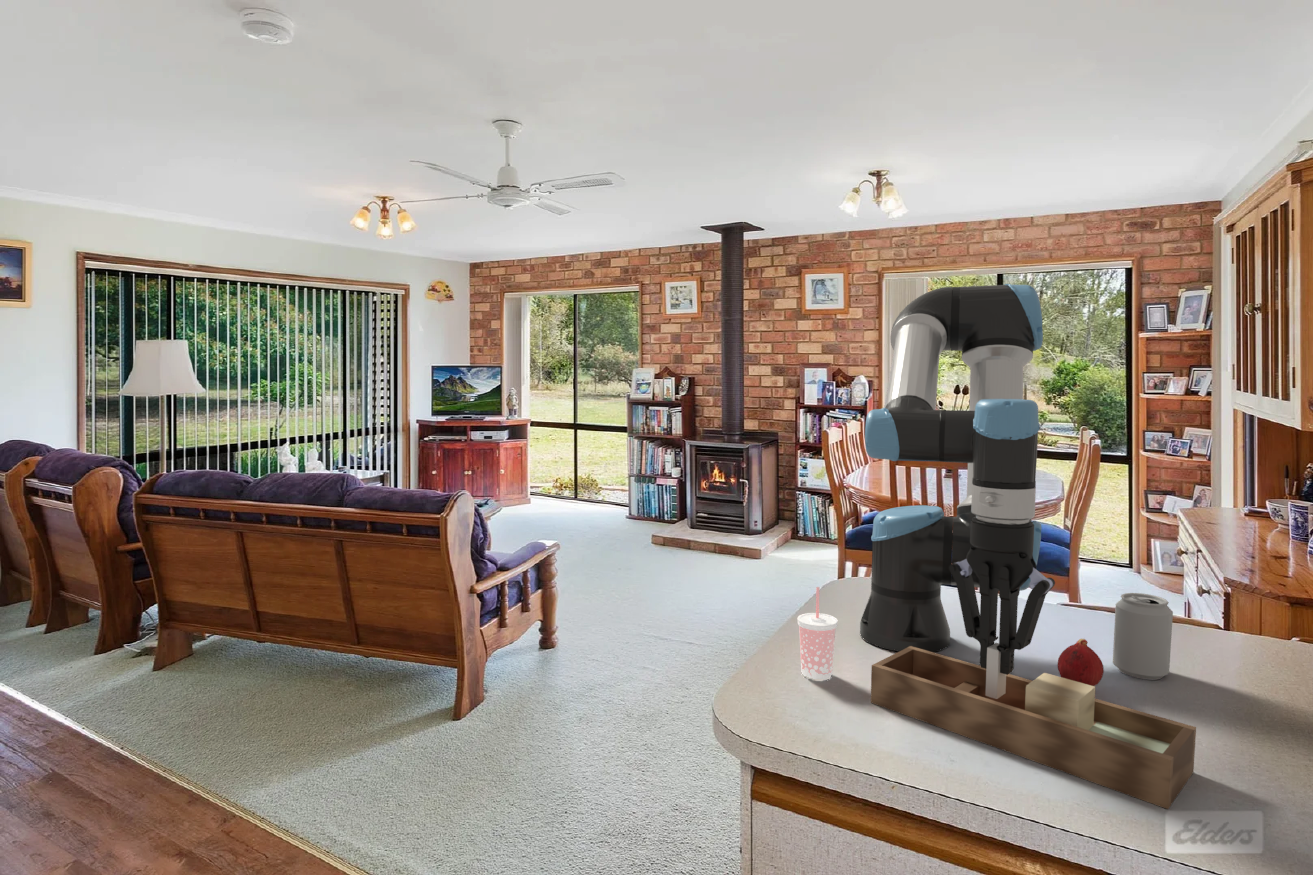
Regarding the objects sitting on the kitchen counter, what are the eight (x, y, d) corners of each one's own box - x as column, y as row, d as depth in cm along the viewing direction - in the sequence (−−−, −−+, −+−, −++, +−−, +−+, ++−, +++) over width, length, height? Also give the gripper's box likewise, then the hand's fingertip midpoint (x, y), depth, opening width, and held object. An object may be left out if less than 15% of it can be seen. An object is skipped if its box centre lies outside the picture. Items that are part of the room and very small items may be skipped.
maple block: (1024, 724, 94) (1025, 685, 94) (1042, 709, 98) (1044, 672, 98) (1076, 741, 90) (1078, 700, 89) (1093, 725, 94) (1095, 686, 93)
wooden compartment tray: (870, 702, 107) (871, 665, 107) (909, 680, 115) (910, 645, 114) (1168, 809, 81) (1171, 760, 80) (1193, 772, 88) (1196, 727, 88)
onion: (1085, 703, 107) (1088, 648, 106) (1048, 688, 112) (1050, 636, 111) (1110, 695, 109) (1113, 641, 109) (1072, 681, 114) (1075, 629, 114)
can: (1178, 683, 113) (1183, 606, 112) (1123, 679, 115) (1127, 603, 114) (1156, 664, 121) (1160, 591, 120) (1104, 661, 122) (1108, 589, 121)
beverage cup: (837, 685, 113) (838, 594, 112) (795, 681, 115) (796, 591, 113) (836, 669, 119) (838, 582, 118) (797, 666, 120) (798, 580, 119)
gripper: (940, 514, 100) (934, 687, 102) (1044, 529, 90) (1036, 719, 92) (966, 508, 105) (960, 672, 107) (1067, 521, 95) (1058, 701, 97)
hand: (995, 694), depth 99 cm, fingers closed
